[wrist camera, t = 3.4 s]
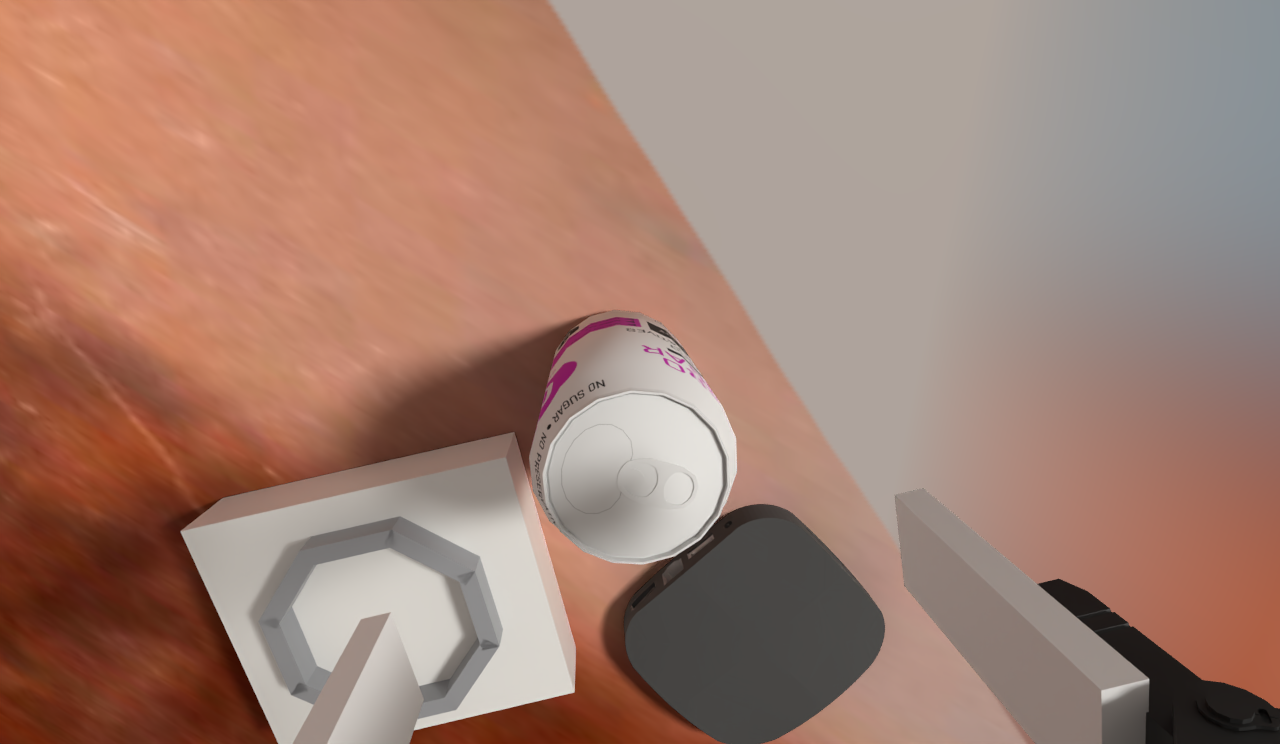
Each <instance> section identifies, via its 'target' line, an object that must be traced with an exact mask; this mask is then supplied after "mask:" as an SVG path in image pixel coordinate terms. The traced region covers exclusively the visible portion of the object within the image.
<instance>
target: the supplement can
mask: <svg viewBox="0 0 1280 744" xmlns="http://www.w3.org/2000/svg"><path fill="white" fill-rule="evenodd" d="M529 462H530V470H531V478H532V486H533V492H534V494H535V495H536V497H537V499H538V501H539V503H540V505H541V506H542V508H543V510H544V512H545V514H546V516H547V518H548V519H549V521H550V522H551V523H552V524H554V525H555V526H556V527H557V528H558V529H559V530H560V532H561V533H563V534H564V535H565V536H566V537H567V538H568V539H570V540H571V541H572V542H573V543H574V544H575V545H577V546H578V547H579V548H580V549H581V550H582V551H584V552H586V553H589V554H591V555H594V556H596V557H599V558H601V559H604V560H607V561H609V562H612V563H627V564H647V563H651V562H655V561H659V560H662V559H666V558H670V557H674V556H676V555H677V554H679V553H680V552H682V551H684V550H685V549H687V548H688V547H690V546H691V545H693V544H695V543H696V542H698V541H699V540H701V539H702V537H703V536H704V535H705V534H706V532H707V531H708V530H709V529H710V527H711V526H712V525H713V524H714V522H715V521H716V520H717V519H718V518H719V516H720V514H721V511H722V509H723V506H724V505H725V504H726V502H727V499H728V496H729V493H730V490H731V487H732V484H733V482H734V479H735V476H736V473H737V455H736V437H735V435H734V432H733V430H732V427H731V425H730V423H729V420H728V418H727V416H726V413H725V411H724V409H723V407H722V405H721V404H720V402H719V401H718V399H717V398H716V396H715V395H714V393H713V392H712V390H711V389H710V387H709V386H708V384H707V383H706V381H705V380H704V378H703V377H702V375H701V374H700V372H699V371H698V369H697V368H696V366H695V365H694V363H693V362H692V360H691V359H690V357H689V356H688V354H687V353H686V351H685V350H684V348H683V347H682V345H681V344H680V342H679V341H678V339H677V338H676V337H675V336H674V335H673V334H672V333H671V332H670V331H669V330H668V329H667V328H666V327H665V326H664V325H663V324H662V323H661V322H659V321H657V320H654V319H652V318H650V317H648V316H646V315H644V314H642V313H640V312H631V311H620V310H612V311H608V312H605V313H601V314H597V315H593V316H590V317H588V318H587V319H585V320H584V321H583V322H581V323H580V324H578V325H577V326H575V327H574V328H572V329H571V330H570V331H569V332H568V334H567V335H566V336H565V338H564V339H563V341H562V342H561V343H560V345H559V346H558V348H557V349H556V351H555V355H554V359H553V363H552V367H551V371H550V374H549V378H548V382H547V387H546V391H545V395H544V399H543V403H542V407H541V411H540V415H539V419H538V423H537V427H536V431H535V435H534V439H533V443H532V447H531V451H530V455H529Z"/></svg>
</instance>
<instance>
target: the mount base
mask: <svg viewBox="0 0 1280 744" xmlns="http://www.w3.org/2000/svg"><path fill="white" fill-rule="evenodd" d="M180 532H181V534H182V536H183V539H184V541H185V543H186V545H187V547H188V549H189V552H190V554H191V556H192V558H193V560H194V562H195V564H196V567H197V569H198V571H199V573H200V575H201V577H202V580H203V582H204V584H205V586H206V588H207V590H208V593H209V595H210V597H211V599H212V601H213V603H214V606H215V608H216V610H217V612H218V614H219V616H220V618H221V621H222V623H223V625H224V627H225V629H226V631H227V634H228V636H229V638H230V640H231V642H232V644H233V647H234V649H235V651H236V653H237V655H238V657H239V660H240V662H241V664H242V666H243V668H244V670H245V672H246V675H247V677H248V679H249V681H250V683H251V685H252V688H253V690H254V692H255V694H256V696H257V698H258V701H259V703H260V705H261V707H262V709H263V711H264V714H265V716H266V718H267V720H268V722H269V724H270V726H271V729H272V731H273V733H274V735H275V737H276V739H277V742H278V744H293V742H294V740H295V738H296V736H297V734H298V733H299V731H300V729H301V727H302V725H303V724H304V722H305V720H306V718H307V716H308V714H309V713H310V711H311V709H312V707H313V705H314V704H315V702H316V700H317V698H318V696H319V694H320V693H321V691H322V689H323V687H324V685H325V684H326V682H327V680H328V678H329V676H330V674H331V673H332V671H333V669H334V667H335V665H336V664H337V662H338V660H339V658H340V656H341V655H342V653H343V651H344V649H345V647H346V645H347V644H348V642H349V640H350V638H351V636H352V635H353V633H354V631H355V629H356V627H357V625H358V624H359V622H360V620H361V619H364V618H368V617H372V616H377V615H381V614H385V613H390V612H391V614H392V616H393V619H394V622H395V624H396V627H397V630H398V632H399V635H400V638H401V640H402V643H403V645H404V648H405V651H406V653H407V656H408V659H409V661H410V664H411V667H412V669H413V672H414V675H415V677H416V680H417V682H418V685H419V688H420V690H421V693H422V696H423V698H424V701H423V704H422V707H421V710H420V713H419V716H418V719H417V722H416V725H415V728H414V730H417V729H421V728H426V727H430V726H434V725H438V724H443V723H447V722H451V721H455V720H459V719H464V718H468V717H472V716H476V715H481V714H485V713H489V712H493V711H498V710H502V709H506V708H510V707H515V706H519V705H523V704H527V703H532V702H536V701H540V700H544V699H548V698H553V697H557V696H561V695H565V694H570V693H574V692H575V663H576V646H575V643H574V639H573V636H572V632H571V629H570V625H569V622H568V618H567V615H566V611H565V608H564V604H563V601H562V597H561V593H560V590H559V586H558V583H557V579H556V576H555V572H554V569H553V565H552V562H551V558H550V555H549V551H548V548H547V544H546V541H545V537H544V534H543V530H542V527H541V523H540V520H539V516H538V513H537V509H536V506H535V502H534V499H533V495H532V492H531V488H530V485H529V481H528V478H527V474H526V471H525V467H524V464H523V460H522V457H521V453H520V450H519V446H518V443H517V439H516V436H515V432H512V433H507V434H503V435H498V436H494V437H490V438H485V439H481V440H476V441H472V442H467V443H463V444H459V445H454V446H450V447H445V448H441V449H437V450H432V451H428V452H423V453H419V454H415V455H410V456H406V457H401V458H397V459H393V460H388V461H384V462H379V463H375V464H371V465H366V466H362V467H357V468H353V469H348V470H344V471H340V472H335V473H331V474H326V475H322V476H318V477H313V478H309V479H304V480H300V481H296V482H291V483H287V484H282V485H278V486H274V487H269V488H265V489H260V490H256V491H252V492H247V493H243V494H238V495H234V496H229V497H225V498H222V499H221V500H219V501H218V502H217V503H216V504H214V505H213V506H212V507H211V508H209V509H208V510H207V511H205V512H204V513H203V514H202V515H200V516H199V517H198V518H197V519H195V520H194V521H193V522H191V523H190V524H189V525H188V526H186V527H185V528H184V529H183V530H181V531H180Z"/></svg>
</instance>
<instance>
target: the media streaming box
mask: <svg viewBox="0 0 1280 744" xmlns="http://www.w3.org/2000/svg"><path fill="white" fill-rule="evenodd" d="M704 538H705V539H704ZM699 542H700V543H699ZM693 547H694V548H693ZM687 555H688V556H687ZM624 632H625V644H626V651H627V655H628V658H629V660H630V662H631V664H632V666H633V668H634V669H635V670H636V671H637V672H638V673H639V674H640V676H641V677H642V678H643V679H644V680H645V681H646V682H647V683H648V684H649V685H650V686H651V687H652V688H653V689H654V690H655V691H656V692H657V693H658V694H659V695H660V696H661V697H662V698H663V699H664V700H665V701H666V702H667V703H668V704H669V705H670V706H671V707H673V708H674V709H675V710H676V711H677V712H678V713H680V714H681V715H682V716H683V717H684V718H686V719H687V720H688V721H690V722H691V723H692V724H693V725H695V726H696V727H698V728H699V729H700V730H702V731H703V732H705V733H706V734H708V735H709V736H711V737H712V738H714V739H715V740H717V741H720V742H722V743H726V744H761V743H765V742H769V741H772V740H775V739H777V738H779V737H781V736H783V735H785V734H786V733H788V732H790V731H791V730H793V729H795V728H796V727H798V726H800V725H801V724H803V723H804V722H806V721H807V720H809V719H810V718H812V717H813V716H814V715H816V714H817V713H819V712H820V711H821V710H823V709H824V708H825V707H826V706H828V705H829V704H830V703H832V702H833V701H834V700H835V699H836V698H837V697H839V696H840V695H841V694H842V693H843V692H844V691H845V690H847V689H848V688H849V687H850V686H851V685H852V684H853V683H854V682H855V681H856V680H857V679H858V678H859V677H860V676H861V675H862V674H863V673H864V672H865V671H866V670H867V669H868V668H869V666H870V665H871V664H872V663H873V662H874V660H875V658H876V657H877V655H878V653H879V651H880V648H881V646H882V643H883V639H884V633H885V624H884V618H883V615H882V613H881V611H880V609H879V608H878V606H877V605H876V604H875V602H874V601H873V600H872V598H871V597H870V595H869V594H868V593H867V591H866V590H865V589H864V588H863V587H862V585H861V584H860V583H859V582H858V581H857V579H856V578H855V577H854V576H853V575H852V574H851V572H850V571H849V570H848V569H847V568H846V567H845V566H844V565H843V563H842V562H841V561H840V560H839V559H838V558H837V557H836V556H835V555H834V554H833V553H832V552H831V551H830V549H829V548H828V547H827V546H826V545H825V544H824V543H823V542H822V541H821V540H820V539H819V538H818V537H817V536H816V535H815V534H814V533H813V532H812V531H811V530H810V529H809V528H807V527H806V526H805V525H804V524H803V523H802V522H801V521H800V520H799V519H798V518H797V517H796V516H795V515H793V514H792V513H791V512H789V511H788V510H785V509H783V508H781V507H778V506H773V505H765V504H758V505H750V506H746V507H742V508H740V509H737V510H735V511H733V512H731V513H730V514H728V515H727V516H726V517H724V518H723V519H722V520H720V521H719V522H718V523H716V524H715V525H714V526H712V527H711V528H710V529H709V530H708V531H707V532H706V534H705V535H704V536H703V537H702V539H701V540H699V541H698V542H696V543H695V544H693V545H691V546H690V547H688V548H687V549H685V550H684V551H682V552H681V553H679V554H678V555H677V556H676V557H675V558H674V559H672V560H671V561H670V562H669V563H668V564H667V565H666V566H664V567H663V568H662V569H661V570H660V571H659V572H658V573H657V574H656V575H654V576H653V577H652V578H651V579H650V580H649V581H648V582H647V583H646V584H645V585H644V586H643V587H642V588H641V589H640V590H638V591H637V592H636V593H635V594H634V596H633V597H632V598H631V600H630V602H629V604H628V606H627V609H626V612H625V616H624Z"/></svg>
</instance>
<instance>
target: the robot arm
mask: <svg viewBox="0 0 1280 744" xmlns="http://www.w3.org/2000/svg"><path fill="white" fill-rule="evenodd" d="M895 503H896V512H897V521H898V531H899V540H900V550H901V559H902V568H903V578H904V586H905V587H906V588H907V590H908V591H909V592H910V593H911V594H912V596H913V597H914V598H915V599H916V600H917V602H918V603H919V604H920V605H921V606H922V608H923V609H924V610H925V611H926V613H927V614H928V615H929V616H930V617H931V619H932V620H933V621H934V622H935V623H936V625H937V626H938V627H939V628H940V629H941V631H942V632H943V633H944V634H945V635H946V637H947V638H948V639H949V640H950V641H951V643H952V644H953V645H954V646H955V647H956V649H957V650H958V651H959V652H960V653H961V655H962V656H963V657H964V658H965V659H966V661H967V662H968V663H969V664H970V666H971V667H972V668H973V669H974V670H975V672H976V673H977V674H978V675H979V676H980V678H981V679H982V680H983V681H984V682H985V684H986V685H987V686H988V687H989V688H990V690H991V691H992V692H993V693H994V694H995V696H996V697H997V698H998V699H999V700H1000V702H1001V703H1002V704H1003V705H1004V706H1005V708H1006V709H1007V710H1008V711H1009V712H1010V714H1011V715H1012V716H1013V717H1014V718H1015V720H1016V721H1017V722H1018V723H1019V725H1020V726H1021V727H1022V728H1023V729H1024V731H1025V732H1026V733H1027V734H1028V735H1029V736H1030V738H1031V739H1032V740H1033V741H1034V743H1035V744H1280V709H1278V708H1274V707H1273V706H1271V705H1270V704H1269V703H1268V702H1267V701H1265V700H1264V699H1262V698H1260V697H1258V696H1256V695H1254V694H1252V693H1250V692H1248V691H1247V690H1244V689H1241V688H1238V687H1235V686H1231V685H1228V684H1225V683H1221V682H1213V681H1204V680H1201V679H1200V678H1199V677H1198V676H1196V675H1195V674H1194V673H1193V672H1191V671H1190V670H1189V669H1187V668H1186V667H1185V666H1183V665H1182V664H1181V663H1180V662H1178V661H1177V660H1176V659H1174V658H1173V657H1172V656H1171V655H1169V654H1168V653H1167V652H1165V651H1164V650H1163V649H1161V648H1160V647H1159V646H1158V645H1156V644H1155V643H1154V642H1152V641H1151V640H1150V639H1148V638H1147V637H1146V636H1145V635H1143V634H1142V633H1141V632H1140V631H1138V630H1137V629H1136V628H1134V627H1130V626H1129V624H1128V622H1127V621H1125V620H1124V619H1123V618H1121V617H1120V616H1119V615H1117V614H1116V613H1115V612H1113V613H1112V612H1111V610H1110V608H1108V607H1107V606H1106V605H1105V604H1103V603H1102V602H1101V601H1099V600H1098V599H1097V598H1095V597H1094V596H1093V595H1092V594H1090V593H1089V592H1088V591H1085V590H1083V589H1081V588H1079V587H1076V586H1074V585H1072V584H1070V583H1067V582H1065V581H1063V580H1061V579H1056V580H1052V581H1048V582H1044V583H1039V584H1036V583H1035V582H1034V581H1033V580H1032V579H1030V578H1029V577H1028V576H1027V575H1026V574H1024V573H1023V572H1022V571H1021V570H1020V569H1019V568H1017V567H1016V566H1015V565H1014V564H1013V563H1011V562H1010V561H1009V560H1008V559H1007V558H1006V557H1004V556H1003V555H1002V554H1001V553H1000V552H998V551H997V550H996V549H995V548H994V547H993V546H991V545H990V544H989V543H988V542H987V541H985V540H984V539H983V538H982V537H980V536H979V535H978V534H977V533H976V532H975V531H973V530H972V529H971V528H970V527H969V526H968V525H967V524H965V523H964V522H963V521H962V520H960V519H959V518H958V517H957V516H956V515H955V514H953V513H952V512H951V511H950V510H949V509H947V508H946V507H945V506H944V505H943V504H942V503H940V502H939V501H938V500H937V499H936V498H935V497H933V496H932V495H931V494H930V493H929V492H927V491H926V490H925V489H924V488H922V489H917V490H913V491H909V492H905V493H901V494H896V495H895ZM423 701H424V698H423V696H422V693H421V690H420V688H419V685H418V682H417V680H416V677H415V675H414V672H413V669H412V667H411V664H410V661H409V659H408V656H407V653H406V651H405V648H404V645H403V643H402V640H401V638H400V635H399V632H398V630H397V627H396V624H395V622H394V619H393V616H392V614H391V612H390V613H385V614H381V615H377V616H372V617H368V618H364V619H361V620H360V622H359V624H358V625H357V627H356V629H355V631H354V633H353V635H352V636H351V638H350V640H349V642H348V644H347V645H346V647H345V649H344V651H343V653H342V655H341V656H340V658H339V660H338V662H337V664H336V665H335V667H334V669H333V671H332V673H331V674H330V676H329V678H328V680H327V682H326V684H325V685H324V687H323V689H322V691H321V693H320V694H319V696H318V698H317V700H316V702H315V704H314V705H313V707H312V709H311V711H310V713H309V714H308V716H307V718H306V720H305V722H304V724H303V725H302V727H301V729H300V731H299V733H298V734H297V736H296V738H295V740H294V742H293V744H409V743H410V740H411V737H412V734H413V731H414V728H415V725H416V722H417V719H418V716H419V713H420V710H421V707H422V704H423Z"/></svg>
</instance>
